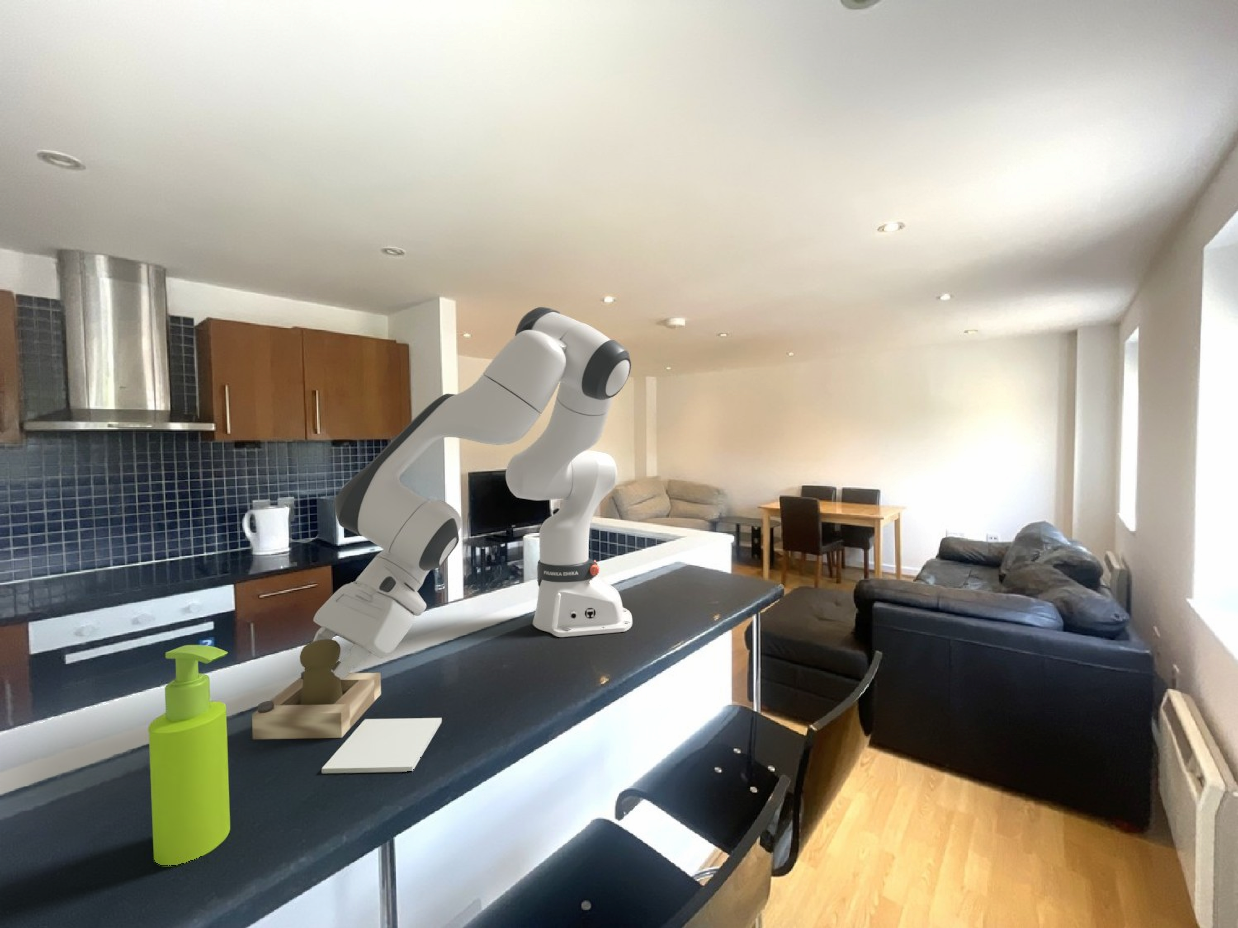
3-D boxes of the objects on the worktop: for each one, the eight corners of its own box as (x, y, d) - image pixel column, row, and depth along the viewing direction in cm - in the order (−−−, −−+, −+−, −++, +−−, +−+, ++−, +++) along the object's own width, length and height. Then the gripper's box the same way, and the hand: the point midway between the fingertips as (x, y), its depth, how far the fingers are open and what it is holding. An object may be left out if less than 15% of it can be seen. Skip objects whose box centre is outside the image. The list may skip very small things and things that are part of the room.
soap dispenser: (195, 873, 47) (187, 664, 46) (137, 860, 48) (129, 657, 47) (252, 826, 53) (246, 639, 52) (199, 816, 54) (193, 634, 53)
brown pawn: (288, 721, 73) (286, 647, 72) (325, 701, 78) (323, 632, 78) (318, 729, 70) (316, 653, 70) (354, 708, 76) (352, 637, 76)
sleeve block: (380, 693, 81) (380, 667, 80) (341, 737, 69) (340, 706, 68) (305, 695, 80) (304, 668, 80) (252, 739, 68) (251, 708, 68)
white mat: (441, 721, 72) (441, 717, 72) (412, 771, 61) (412, 766, 61) (365, 723, 72) (364, 719, 72) (321, 773, 61) (321, 768, 61)
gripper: (343, 566, 86) (279, 640, 78) (404, 587, 73) (335, 676, 66) (369, 586, 89) (311, 658, 82) (432, 609, 77) (370, 696, 69)
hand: (322, 667), depth 74 cm, fingers open, 8 cm apart
